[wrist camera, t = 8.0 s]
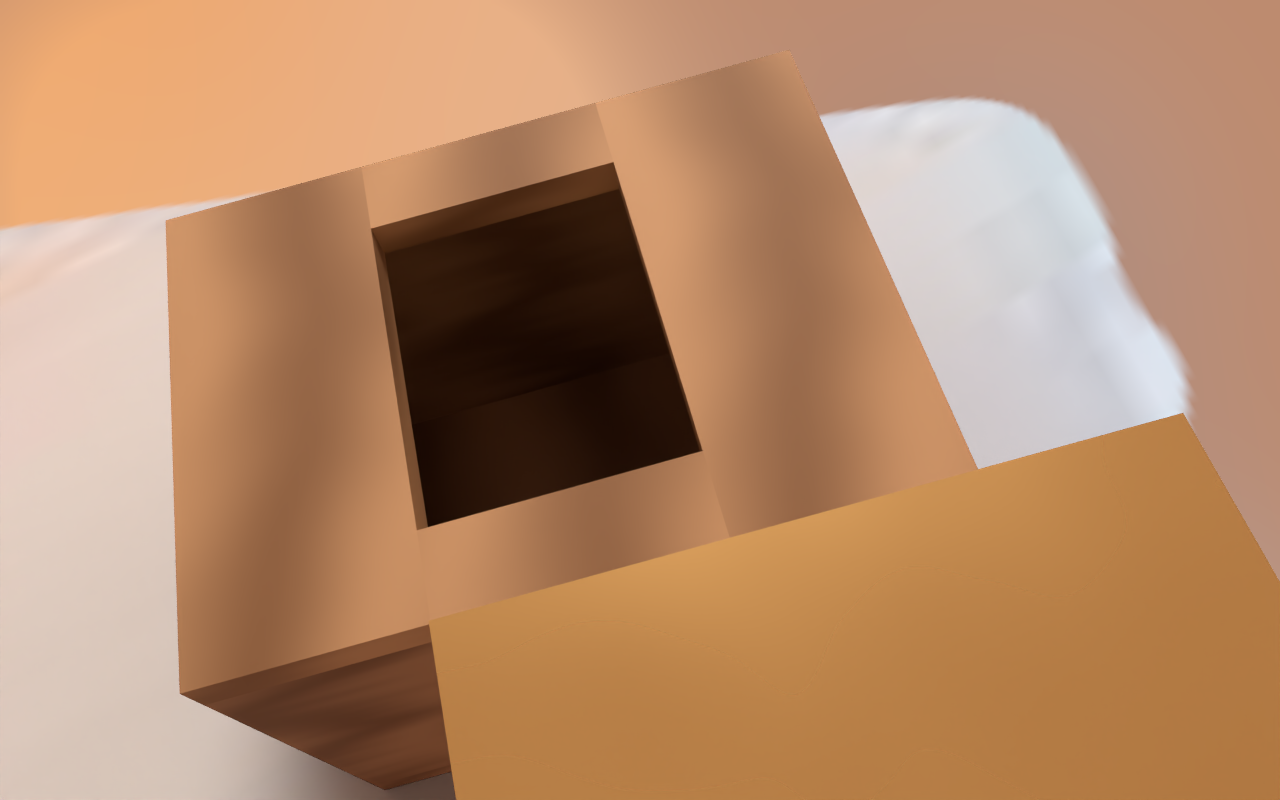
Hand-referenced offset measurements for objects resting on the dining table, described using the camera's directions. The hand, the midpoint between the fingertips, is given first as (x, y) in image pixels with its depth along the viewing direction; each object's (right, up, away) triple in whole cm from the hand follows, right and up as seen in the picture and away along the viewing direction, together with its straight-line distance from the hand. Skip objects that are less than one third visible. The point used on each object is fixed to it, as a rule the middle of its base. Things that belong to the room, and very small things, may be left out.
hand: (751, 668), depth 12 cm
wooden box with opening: (-2, -1, +22) cm, 22 cm away
